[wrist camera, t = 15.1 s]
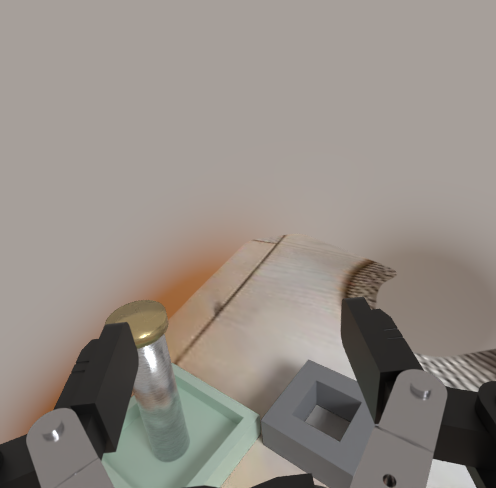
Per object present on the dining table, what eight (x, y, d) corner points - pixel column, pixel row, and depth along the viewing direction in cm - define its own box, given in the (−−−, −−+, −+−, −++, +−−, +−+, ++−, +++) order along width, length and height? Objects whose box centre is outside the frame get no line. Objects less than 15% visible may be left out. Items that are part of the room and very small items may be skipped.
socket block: (308, 382, 47) (308, 359, 45) (388, 421, 41) (391, 396, 39) (263, 444, 40) (260, 420, 38) (351, 501, 34) (353, 475, 32)
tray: (176, 379, 49) (172, 362, 48) (261, 432, 41) (259, 414, 40) (80, 465, 40) (71, 448, 38) (166, 557, 32) (160, 539, 30)
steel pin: (173, 414, 43) (140, 294, 35) (205, 437, 40) (178, 311, 32) (137, 450, 40) (92, 324, 32) (169, 478, 37) (129, 347, 29)
